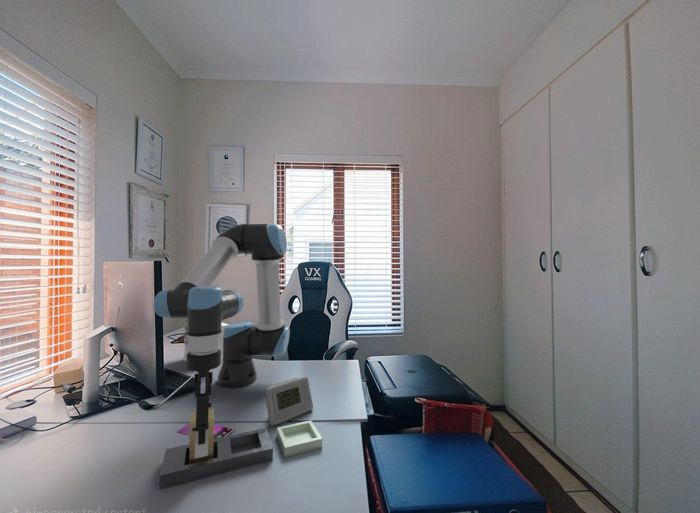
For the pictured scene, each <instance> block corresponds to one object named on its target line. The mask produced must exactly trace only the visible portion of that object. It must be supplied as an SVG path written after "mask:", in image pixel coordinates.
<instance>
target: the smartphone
mask: <svg viewBox="0 0 700 513" xmlns="http://www.w3.org/2000/svg"><path fill="white" fill-rule="evenodd" d="M235 431H236V429H234V428H229V427H226V426H223V425H218V424H215V423H214V439H216V438H221V437H226V436H230V435H232V434H233V433H234V432H235ZM176 433H178V434H182V435H185V436H189V437H190V423H188V424H187V425H184V426H183V427H182V428H180V429H178V430H177V431H176Z"/></svg>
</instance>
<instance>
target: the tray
mask: <svg viewBox="0 0 700 513" xmlns="http://www.w3.org/2000/svg"><path fill="white" fill-rule="evenodd" d="M276 438H277V439H278V440H277V441H278V443H279V446H280V448H281V451H282V453H283V457H284V458H287V457H291V456H295V455H299V454H302V453H306V452H307V453H308V452H311V451H315V450H318V449H322V448H323V437H322V435H321V434H320V432H319V430H318V429H317V427H316V426H315V424H314V423H313V421H312V420H311V419H310V420H307V421H306V420H305V421H302V422H301V421H300V422H297V423H293V424H287V425H283V426H279V427H276Z"/></svg>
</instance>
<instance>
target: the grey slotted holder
mask: <svg viewBox="0 0 700 513" xmlns="http://www.w3.org/2000/svg"><path fill="white" fill-rule="evenodd" d="M253 445H257V448H252V449H249V450H244V451H240V452H235V453H232V450H237V449H241V448H246V447H250V446H253ZM215 454H216V458H215V457H213V459H210V460H206V461H202V462H197V463H193V464H187V461H189V457H190V443H187V444H184V445H179V446H174V447H170V448H166V449H165V452H164V456H163V459H162V464H161V468H160V472H159V482H158V484H159V487H158V488H159V489H158V490H163V489H167V488H171V487H175V486H178V485H180V486H181V485H183V484H187V483H190V482H194V481H198V480H202V479H206V478H211V477H215V476H217V475H222V474H226V473H229V472H234V471H237V470H241V469H245V468H248V467H253V466H256V465H260V464H264V463H268V462H272V461H273V458H274V446H273V444H272V442H271V438H270V436H269V432H268V429H267V427H264V428H259V429H255V430H249V431H245V432H239V433H236V434H230V435H229V436H226V437H221V438H216V439H214V445H213V455H215Z"/></svg>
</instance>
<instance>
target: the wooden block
mask: <svg viewBox="0 0 700 513" xmlns="http://www.w3.org/2000/svg"><path fill="white" fill-rule="evenodd" d="M208 409H209V410H208V424H209V431H208V456H204V457H199V458H195V431H192V428H195V426H196V411H192V412H191V415H190V423H189V424H190V436H189V444H190V457H189V460H188V461H189V462H188V463H189V464H193V463H197V462H202V461H206V460H210V459H214V454H213V445H214V424H215V408H208ZM189 464H188V465H189Z"/></svg>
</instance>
